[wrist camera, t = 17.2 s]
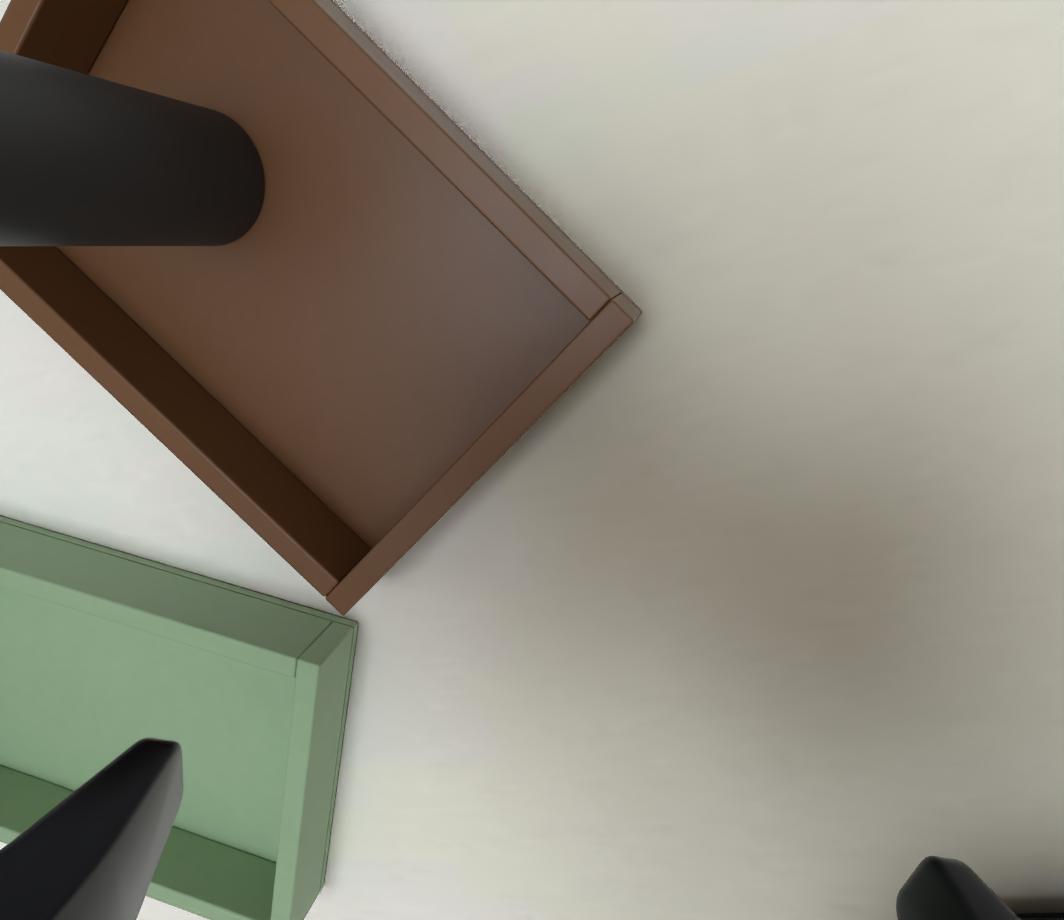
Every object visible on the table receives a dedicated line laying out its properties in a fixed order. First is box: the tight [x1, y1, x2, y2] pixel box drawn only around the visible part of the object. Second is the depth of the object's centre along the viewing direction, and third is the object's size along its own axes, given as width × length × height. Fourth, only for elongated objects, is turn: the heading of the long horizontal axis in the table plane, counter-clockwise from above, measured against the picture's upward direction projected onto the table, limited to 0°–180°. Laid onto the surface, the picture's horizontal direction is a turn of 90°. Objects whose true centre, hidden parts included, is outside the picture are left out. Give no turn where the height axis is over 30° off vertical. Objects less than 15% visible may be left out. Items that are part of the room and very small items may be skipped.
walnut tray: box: [0, 0, 642, 615], centre depth 19 cm, size 15×11×2 cm
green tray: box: [0, 516, 358, 920], centre depth 24 cm, size 15×11×2 cm
